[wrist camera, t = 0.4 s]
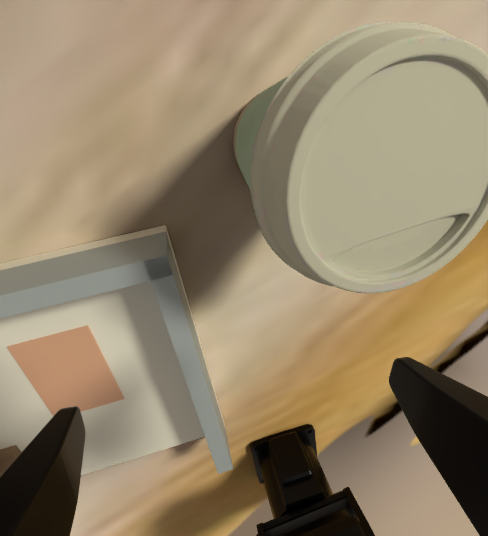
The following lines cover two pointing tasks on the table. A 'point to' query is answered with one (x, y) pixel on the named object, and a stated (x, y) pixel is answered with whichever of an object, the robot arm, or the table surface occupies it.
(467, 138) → the coffee cup
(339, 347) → the table surface
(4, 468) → the walnut block
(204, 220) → the table surface
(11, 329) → the arena
